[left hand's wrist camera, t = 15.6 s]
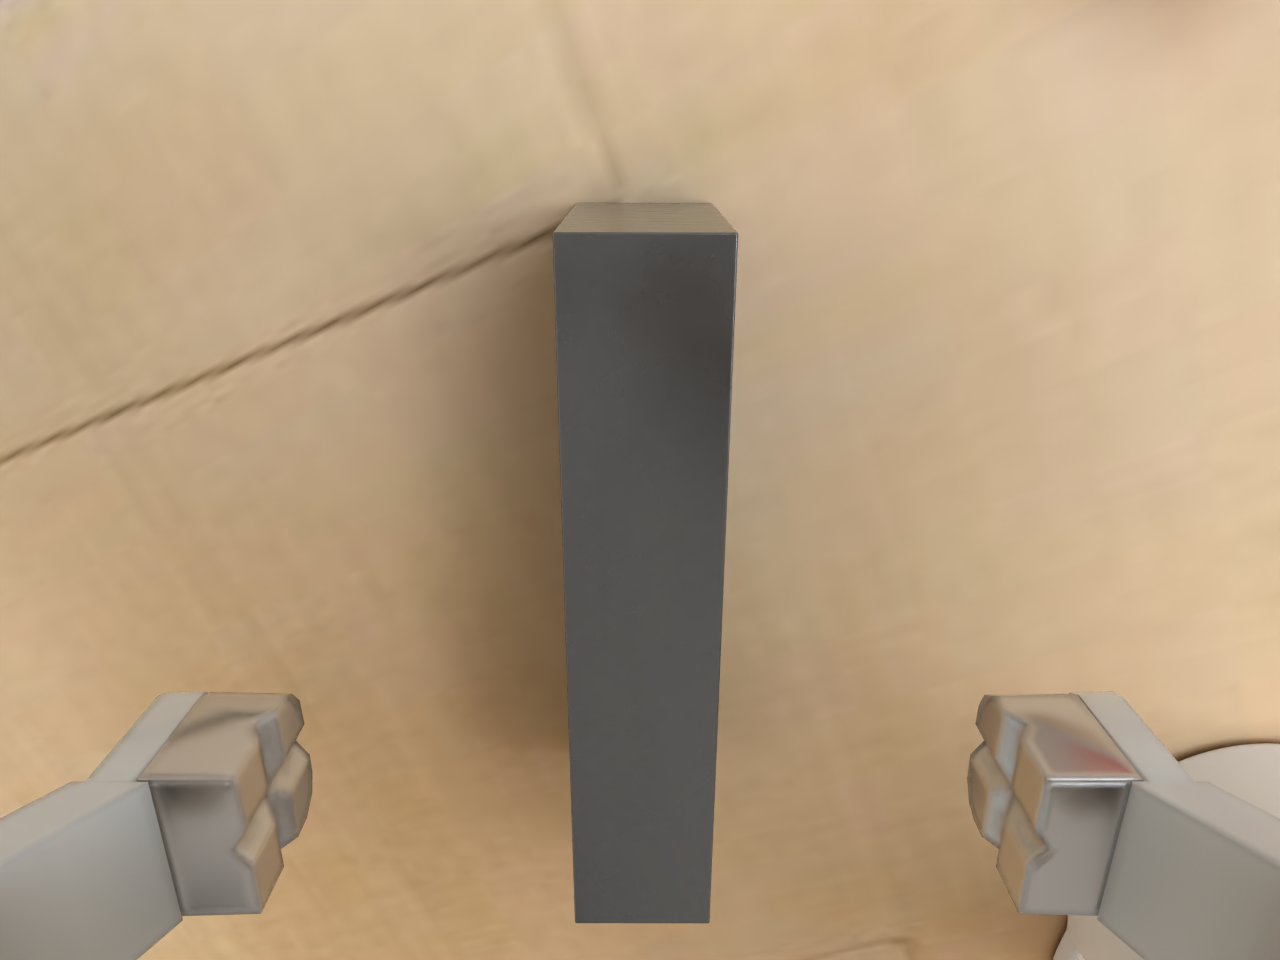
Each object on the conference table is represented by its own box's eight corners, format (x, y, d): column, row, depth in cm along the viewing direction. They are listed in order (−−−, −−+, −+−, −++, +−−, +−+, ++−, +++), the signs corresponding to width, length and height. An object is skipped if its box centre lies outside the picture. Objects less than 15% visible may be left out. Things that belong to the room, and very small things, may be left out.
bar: (575, 202, 31) (552, 232, 22) (712, 203, 31) (738, 232, 22) (588, 756, 39) (575, 923, 31) (695, 756, 39) (709, 923, 31)
